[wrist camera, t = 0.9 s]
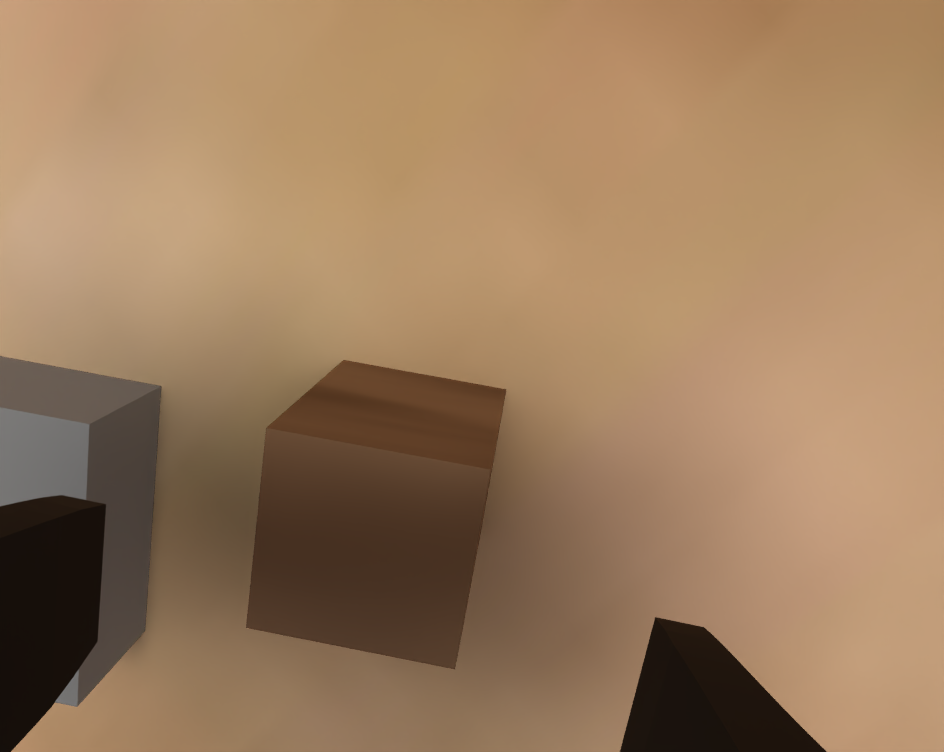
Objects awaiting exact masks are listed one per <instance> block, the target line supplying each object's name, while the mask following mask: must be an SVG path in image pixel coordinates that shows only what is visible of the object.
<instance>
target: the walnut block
mask: <svg viewBox="0 0 944 752" xmlns="http://www.w3.org/2000/svg"><path fill="white" fill-rule="evenodd" d="M505 394H506V389H500V388H495V387H489V386H484V385H478V384H473V383H467V382H462V381H456V380H451V379H445V378H440V377H434V376H429V375H423V374H418V373H412V372H406V371H401V370H395V369H390V368H384V367H379V366H373V365H368V364H362V363H357V362H351V361H346V360H343V361H342V362H341V363H340V364H339V365H338V366H336V367H335V368H334V369H333V370H332V371H331V372H330V373H328V374H327V375H326V376H325V377H324V378H323V379H322V380H320V381H319V382H318V383H317V384H316V385H315V386H314V387H313V388H311V389H310V390H309V391H308V392H307V393H306V394H305V395H303V396H302V397H301V398H300V399H299V400H298V401H297V402H295V403H294V404H293V405H292V406H291V407H290V408H289V409H287V410H286V411H285V412H284V413H283V414H282V415H281V416H279V417H278V418H277V419H276V420H275V421H274V422H273V423H271V424H270V425H269V426H268V427H267V428H266V437H265V446H264V456H263V466H262V476H261V486H260V496H259V506H258V516H257V525H256V535H255V545H254V555H253V565H252V575H251V585H250V595H249V604H248V614H247V624H246V628H250V629H255V630H260V631H265V632H271V633H276V634H281V635H286V636H291V637H296V638H301V639H306V640H311V641H316V642H321V643H326V644H331V645H336V646H341V647H346V648H351V649H356V650H361V651H366V652H371V653H376V654H381V655H386V656H391V657H396V658H401V659H406V660H411V661H416V662H421V663H426V664H431V665H436V666H441V667H446V668H451V669H455V666H456V661H457V656H458V650H459V645H460V640H461V634H462V629H463V624H464V618H465V613H466V608H467V602H468V597H469V592H470V586H471V581H472V576H473V570H474V565H475V560H476V554H477V549H478V544H479V538H480V533H481V527H482V522H483V516H484V511H485V505H486V499H487V494H488V488H489V483H490V477H491V472H492V466H493V460H494V455H495V449H496V444H497V438H498V433H499V427H500V421H501V416H502V410H503V405H504V399H505Z"/></svg>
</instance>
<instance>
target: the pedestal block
mask: <svg viewBox="0 0 944 752" xmlns="http://www.w3.org/2000/svg"><path fill="white" fill-rule="evenodd" d="M160 398H161V386H158V385H152V384H147V383H141V382H136V381H131V380H125V379H120V378H115V377H109V376H104V375H98V374H93V373H88V372H82V371H77V370H72V369H66V368H61V367H55V366H50V365H45V364H39V363H34V362H29V361H23V360H18V359H13V358H7V357H2V356H0V506H4V505H8V504H13V503H17V502H22V501H27V500H31V499H37V498H42V497H50V496H58V495H64V496H69V497H74V498H79V499H84V500H89V501H93V502H98V503H103V504H106V516H105V532H104V548H103V564H102V580H101V596H100V612H99V627H98V642H97V643H96V645H95V646H94V648H93V649H92V651H91V652H90V653H89V655H88V656H87V658H86V659H85V661H84V662H83V664H82V665H81V667H80V668H79V670H78V671H77V672H76V674H75V675H74V677H73V678H72V680H71V681H70V682H69V684H68V685H67V686H66V688H65V689H64V690H63V692H62V693H61V694H60V696H59V697H58V699H57V700H56V701H55V702H56V703H61V704H66V705H71V706H75V707H78V705H79V704H80V703H81V702H82V701H83V700H84V699H85V698H86V696H87V695H88V694H89V693H90V692H91V691H92V690H93V689H94V688H95V686H96V685H97V684H98V683H99V682H100V681H101V680H102V679H103V677H104V676H105V675H106V674H107V673H108V672H109V671H110V670H111V669H112V667H113V666H114V665H115V664H116V663H117V662H118V661H119V660H120V658H121V657H122V656H123V655H124V654H125V653H126V652H127V651H128V650H129V648H130V647H131V646H132V645H133V644H134V643H135V642H136V641H137V639H138V638H139V637H140V636H141V635H142V634H143V633H144V632H145V625H146V610H147V595H148V580H149V565H150V549H151V534H152V519H153V504H154V489H155V474H156V458H157V443H158V428H159V413H160Z"/></svg>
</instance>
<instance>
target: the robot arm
mask: <svg viewBox="0 0 944 752" xmlns="http://www.w3.org/2000/svg"><path fill="white" fill-rule="evenodd" d="M105 516H106V504H103V503H98V502H93V501H89V500H84V499H79V498H74V497H69V496H64V495H58V496H50V497H42V498H37V499H31V500H27V501H22V502H17V503H13V504H8V505H4V506H0V752H11V751H12V750H13V749H14V748H15V746H16V745H17V744H18V743H19V742H20V741H21V740H22V739H23V738H24V737H25V736H26V734H27V733H28V732H29V731H30V730H31V729H32V728H33V727H34V726H35V725H36V724H37V722H38V721H39V720H40V719H41V718H42V717H43V716H44V715H45V714H46V712H47V711H48V710H49V709H50V708H51V707H52V705H53V704H54V703H55V701H56V700H57V699H58V697H59V696H60V694H61V693H62V692H63V690H64V689H65V688H66V686H67V685H68V684H69V682H70V681H71V680H72V678H73V677H74V675H75V674H76V672H77V671H78V670H79V668H80V667H81V665H82V664H83V662H84V661H85V659H86V658H87V656H88V655H89V653H90V652H91V651H92V649H93V648H94V646H95V645H96V643H97V642H98V627H99V612H100V596H101V580H102V564H103V548H104V532H105ZM620 752H826V751H825V750H824V749H823V748H822V747H821V746H820V745H819V744H818V743H817V742H816V741H815V740H814V739H813V738H812V737H811V736H810V735H809V734H808V733H807V732H806V731H805V730H804V729H803V728H802V727H801V726H800V725H799V724H798V723H797V722H796V721H795V720H794V719H793V718H792V717H791V716H790V715H789V714H788V713H787V712H786V711H785V710H784V709H783V708H782V707H781V706H780V704H779V703H778V702H777V701H776V700H775V699H774V698H773V697H772V696H771V695H770V694H769V693H768V692H767V691H766V690H765V689H764V688H763V687H762V686H761V685H760V684H759V682H758V681H757V680H756V679H755V678H754V677H753V676H752V675H751V674H750V673H749V672H748V671H747V670H746V669H745V668H744V667H743V666H742V664H741V663H740V662H739V661H738V660H737V659H736V658H735V657H734V656H733V655H732V654H731V653H730V652H729V651H728V650H727V649H726V648H725V647H724V646H723V645H722V644H721V643H720V642H719V641H718V640H717V639H716V638H715V637H714V636H713V635H712V634H711V633H710V632H709V631H707V630H706V629H705V628H704V627H700V626H695V625H690V624H685V623H680V622H676V621H671V620H666V619H661V618H656V617H655V621H654V625H653V628H652V632H651V636H650V640H649V644H648V647H647V651H646V655H645V659H644V663H643V666H642V670H641V674H640V678H639V682H638V685H637V689H636V693H635V697H634V701H633V705H632V708H631V712H630V716H629V720H628V724H627V727H626V731H625V735H624V739H623V743H622V746H621V750H620Z"/></svg>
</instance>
